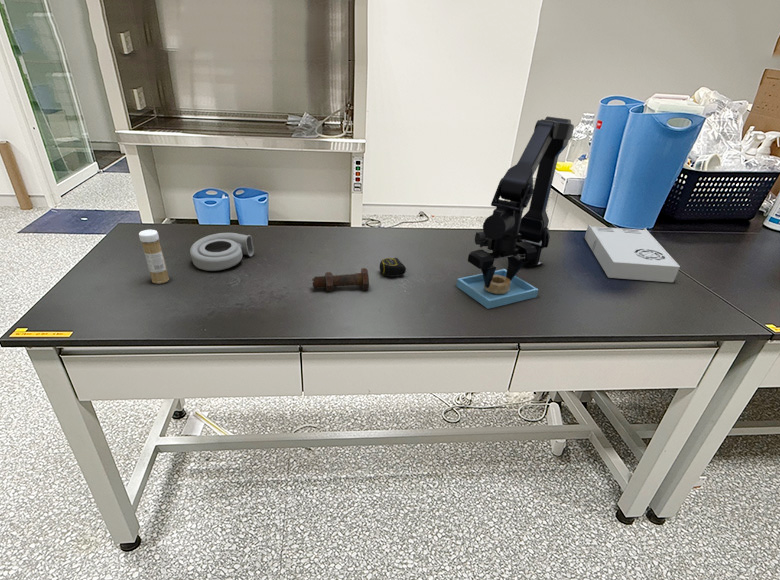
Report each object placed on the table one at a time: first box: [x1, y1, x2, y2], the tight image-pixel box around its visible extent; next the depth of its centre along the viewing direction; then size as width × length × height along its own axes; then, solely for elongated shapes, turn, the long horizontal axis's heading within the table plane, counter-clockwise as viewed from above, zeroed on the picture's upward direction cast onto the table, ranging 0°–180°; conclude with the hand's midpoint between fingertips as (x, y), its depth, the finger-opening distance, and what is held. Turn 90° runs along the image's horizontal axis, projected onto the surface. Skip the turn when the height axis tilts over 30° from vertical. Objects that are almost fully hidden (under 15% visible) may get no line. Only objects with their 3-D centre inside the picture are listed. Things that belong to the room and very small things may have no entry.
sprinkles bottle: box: [138, 229, 170, 285], centre depth 132 cm, size 5×5×14 cm
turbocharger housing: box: [189, 232, 255, 272], centre depth 146 cm, size 17×6×15 cm
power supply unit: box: [584, 224, 681, 283], centre depth 158 cm, size 19×33×5 cm, turn 174°
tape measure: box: [379, 257, 407, 277], centre depth 143 cm, size 7×7×4 cm
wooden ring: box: [484, 275, 511, 294], centre depth 136 cm, size 7×7×2 cm
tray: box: [455, 268, 539, 310], centre depth 137 cm, size 17×15×2 cm
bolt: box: [311, 267, 370, 292], centre depth 134 cm, size 6×5×15 cm
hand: (497, 284), depth 137 cm, fingers closed on wooden ring, 7 cm apart
